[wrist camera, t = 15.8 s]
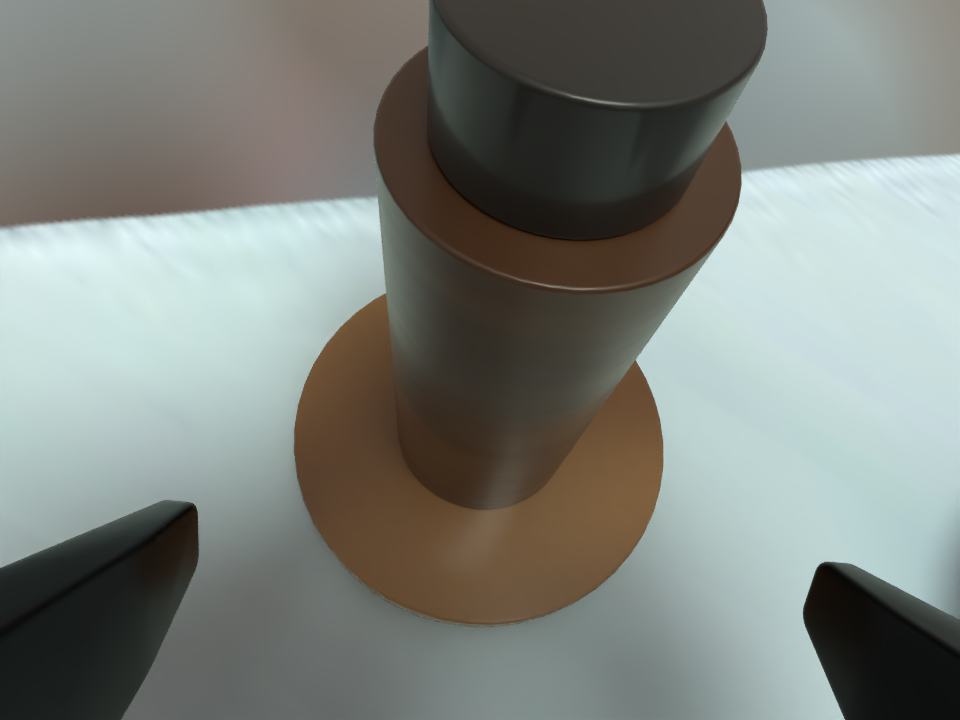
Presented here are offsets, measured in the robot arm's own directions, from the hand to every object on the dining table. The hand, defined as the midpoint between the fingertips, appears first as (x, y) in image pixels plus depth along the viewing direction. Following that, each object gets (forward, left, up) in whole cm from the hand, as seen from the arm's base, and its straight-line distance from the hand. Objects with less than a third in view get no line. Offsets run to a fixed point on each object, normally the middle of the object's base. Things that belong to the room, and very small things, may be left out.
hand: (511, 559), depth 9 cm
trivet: (+4, -2, -9) cm, 10 cm away
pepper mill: (+4, -2, -8) cm, 9 cm away
